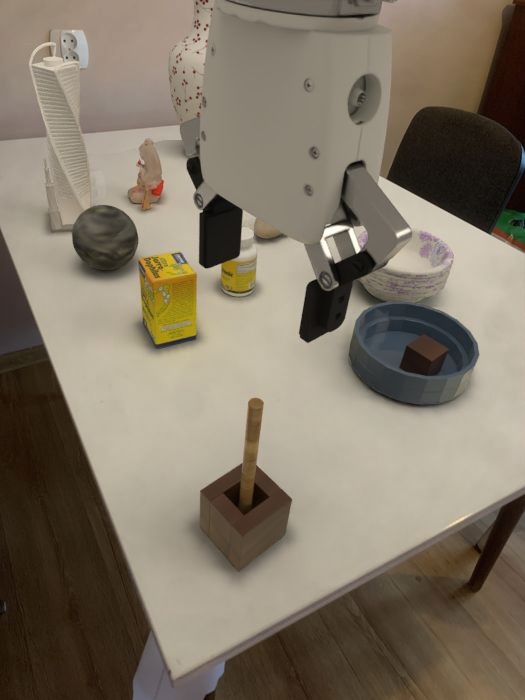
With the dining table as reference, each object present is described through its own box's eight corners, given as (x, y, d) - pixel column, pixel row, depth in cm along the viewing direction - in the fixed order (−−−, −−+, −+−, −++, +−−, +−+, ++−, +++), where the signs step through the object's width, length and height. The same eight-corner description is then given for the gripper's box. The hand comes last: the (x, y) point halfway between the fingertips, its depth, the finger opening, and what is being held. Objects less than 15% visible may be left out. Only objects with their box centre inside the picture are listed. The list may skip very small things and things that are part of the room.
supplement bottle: (216, 281, 86) (217, 225, 80) (248, 276, 88) (252, 222, 82) (226, 299, 83) (229, 243, 76) (259, 295, 84) (264, 239, 78)
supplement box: (142, 324, 76) (136, 257, 69) (181, 315, 79) (180, 249, 72) (155, 350, 72) (151, 281, 65) (197, 339, 75) (197, 272, 68)
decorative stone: (92, 246, 91) (84, 190, 85) (148, 255, 91) (145, 199, 84) (65, 276, 84) (54, 217, 77) (127, 287, 83) (121, 228, 77)
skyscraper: (52, 210, 100) (21, 39, 82) (97, 208, 102) (77, 41, 84) (51, 232, 94) (18, 53, 76) (100, 229, 96) (78, 54, 78)
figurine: (126, 190, 109) (131, 129, 102) (160, 195, 111) (167, 135, 104) (127, 209, 102) (133, 144, 95) (163, 213, 104) (171, 150, 97)
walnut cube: (440, 371, 73) (449, 349, 70) (423, 384, 71) (431, 361, 68) (416, 356, 75) (424, 333, 72) (398, 367, 73) (406, 344, 70)
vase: (198, 172, 119) (198, -18, 96) (156, 149, 127) (148, -31, 105) (252, 158, 128) (265, -19, 105) (210, 137, 136) (213, -31, 114)
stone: (242, 226, 96) (274, 186, 101) (255, 254, 100) (284, 214, 106) (269, 226, 92) (300, 185, 98) (281, 255, 96) (310, 214, 102)
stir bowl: (488, 372, 74) (502, 345, 71) (420, 427, 66) (432, 398, 62) (395, 315, 83) (403, 288, 80) (324, 357, 74) (330, 328, 71)
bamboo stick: (251, 531, 53) (266, 403, 41) (241, 538, 52) (255, 410, 41) (243, 522, 54) (256, 395, 42) (233, 529, 53) (244, 401, 41)
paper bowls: (331, 270, 92) (339, 228, 87) (407, 259, 97) (418, 219, 92) (376, 323, 81) (389, 278, 76) (458, 308, 86) (475, 265, 81)
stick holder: (285, 534, 53) (292, 499, 49) (238, 571, 50) (242, 536, 46) (245, 494, 56) (249, 457, 52) (199, 526, 53) (199, 490, 49)
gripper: (519, 11, 21) (407, 341, 33) (240, -47, 31) (227, 226, 42) (407, 20, 17) (323, 394, 28) (124, -50, 27) (143, 253, 38)
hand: (266, 294), depth 35 cm, fingers open, 9 cm apart
